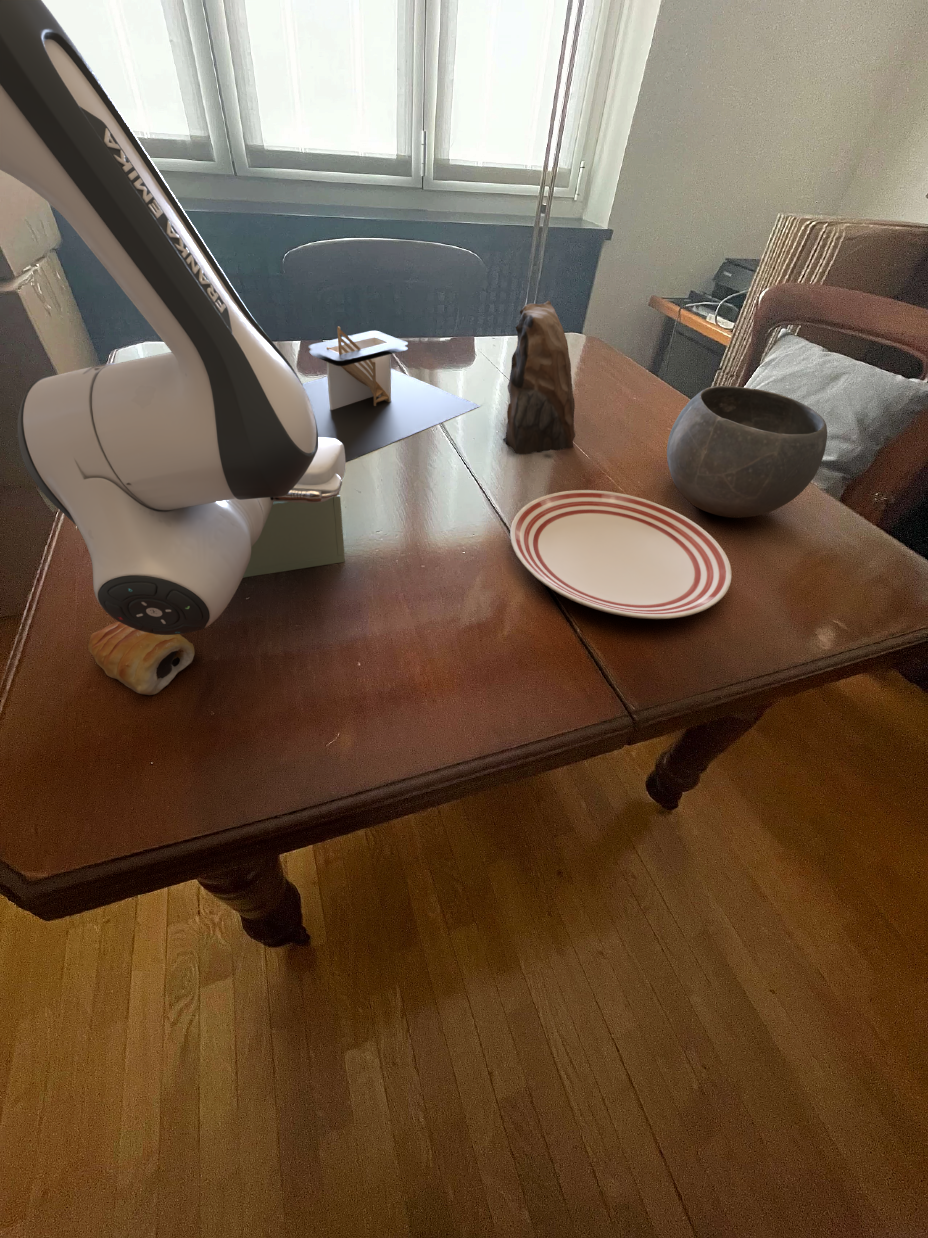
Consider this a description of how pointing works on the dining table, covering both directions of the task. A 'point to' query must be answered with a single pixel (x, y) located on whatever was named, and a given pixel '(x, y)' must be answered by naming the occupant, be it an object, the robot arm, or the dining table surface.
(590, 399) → the dining table surface
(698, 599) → the dinner plate
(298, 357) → the dining table surface
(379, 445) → the architectural model
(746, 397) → the bowl
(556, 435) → the brown carved statue
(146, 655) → the pastry
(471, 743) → the dining table surface
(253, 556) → the open storage bin
